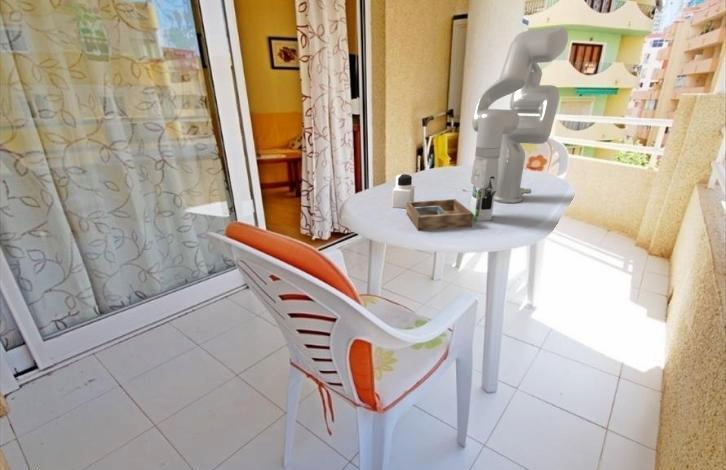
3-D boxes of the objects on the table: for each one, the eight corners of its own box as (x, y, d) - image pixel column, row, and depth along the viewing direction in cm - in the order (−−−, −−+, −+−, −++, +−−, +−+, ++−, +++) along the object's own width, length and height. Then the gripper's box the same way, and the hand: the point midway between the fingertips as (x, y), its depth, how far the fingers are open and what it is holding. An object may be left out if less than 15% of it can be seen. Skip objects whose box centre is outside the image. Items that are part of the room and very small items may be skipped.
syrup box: (468, 215, 119) (472, 175, 114) (485, 214, 120) (489, 174, 114) (475, 221, 114) (479, 179, 108) (492, 220, 115) (497, 178, 109)
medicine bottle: (414, 203, 134) (414, 173, 130) (410, 209, 128) (411, 178, 123) (396, 202, 137) (396, 172, 132) (392, 207, 130) (392, 177, 126)
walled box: (454, 210, 125) (455, 199, 123) (471, 226, 110) (473, 213, 108) (406, 214, 123) (406, 202, 121) (417, 230, 108) (418, 217, 107)
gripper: (466, 149, 116) (461, 199, 123) (488, 158, 100) (482, 215, 107) (487, 147, 116) (481, 198, 123) (512, 156, 101) (504, 213, 108)
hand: (481, 205), depth 115 cm, fingers open, 5 cm apart
